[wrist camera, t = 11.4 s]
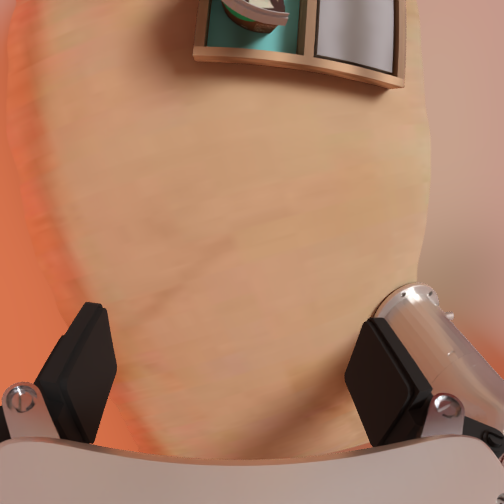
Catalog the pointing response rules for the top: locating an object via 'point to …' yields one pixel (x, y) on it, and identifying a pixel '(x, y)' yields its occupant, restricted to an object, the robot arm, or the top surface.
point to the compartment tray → (314, 39)
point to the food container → (256, 14)
